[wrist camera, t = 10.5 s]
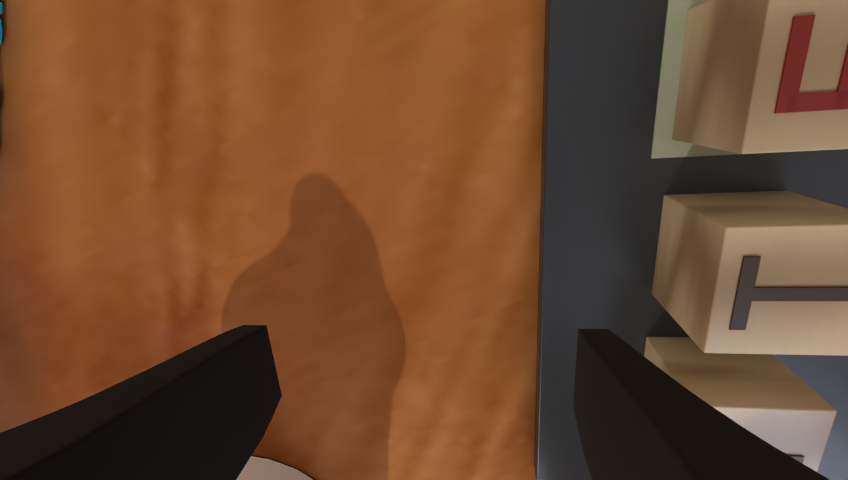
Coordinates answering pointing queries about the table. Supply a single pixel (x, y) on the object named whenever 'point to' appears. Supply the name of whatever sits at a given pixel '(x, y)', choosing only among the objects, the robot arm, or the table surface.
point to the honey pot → (269, 471)
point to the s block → (764, 76)
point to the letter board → (626, 214)
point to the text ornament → (0, 24)
